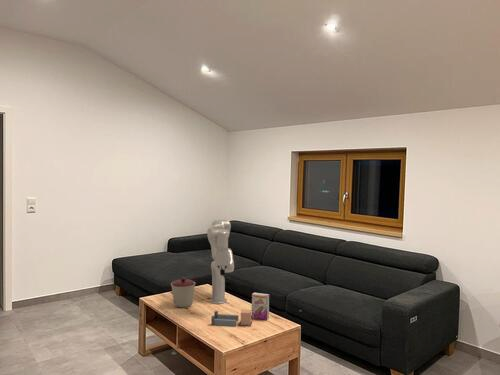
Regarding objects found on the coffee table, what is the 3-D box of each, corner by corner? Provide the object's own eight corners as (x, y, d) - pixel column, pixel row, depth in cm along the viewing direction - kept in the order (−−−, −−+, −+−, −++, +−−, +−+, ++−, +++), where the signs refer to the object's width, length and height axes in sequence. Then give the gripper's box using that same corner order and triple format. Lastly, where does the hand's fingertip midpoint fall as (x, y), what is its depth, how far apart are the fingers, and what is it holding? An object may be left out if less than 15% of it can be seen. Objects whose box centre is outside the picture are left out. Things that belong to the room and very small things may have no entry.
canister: (199, 306, 286) (199, 278, 285) (177, 311, 275) (177, 282, 274) (188, 299, 300) (188, 272, 300) (166, 304, 290) (166, 276, 289)
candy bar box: (251, 318, 263) (251, 294, 262) (253, 315, 268) (253, 292, 267) (267, 320, 259) (267, 296, 259) (269, 317, 264) (269, 293, 263)
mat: (240, 320, 259) (240, 320, 259) (252, 321, 258) (252, 321, 258) (238, 326, 250) (238, 325, 250) (250, 326, 249) (250, 326, 249)
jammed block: (242, 321, 257) (242, 309, 257) (251, 321, 256) (251, 309, 256) (240, 324, 251) (240, 312, 251) (249, 325, 250) (249, 313, 250)
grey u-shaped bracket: (215, 318, 262) (215, 310, 262) (238, 320, 260) (238, 312, 259) (211, 325, 251) (211, 316, 251) (235, 326, 249) (235, 318, 249)
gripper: (210, 249, 267) (210, 276, 268) (232, 250, 265) (232, 276, 266) (213, 247, 275) (213, 273, 275) (234, 248, 273) (234, 274, 273)
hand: (222, 275), depth 271 cm, fingers closed
